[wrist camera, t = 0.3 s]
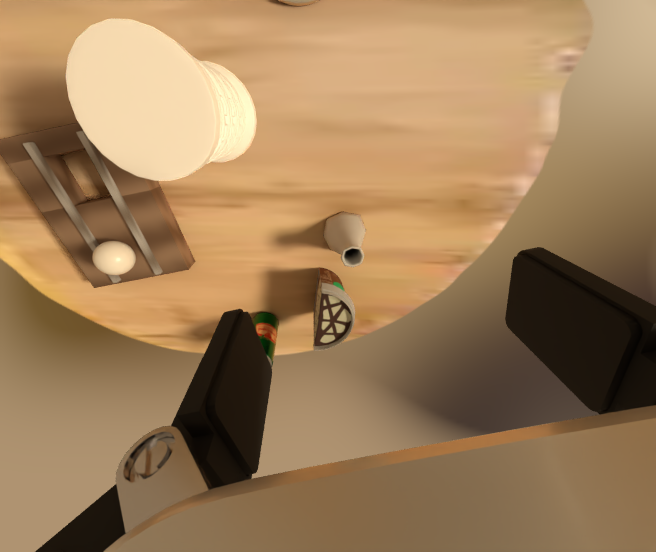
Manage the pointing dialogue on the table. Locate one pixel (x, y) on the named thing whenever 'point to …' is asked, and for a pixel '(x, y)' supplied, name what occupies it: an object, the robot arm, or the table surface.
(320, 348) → the food container
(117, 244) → the ball
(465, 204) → the table surface
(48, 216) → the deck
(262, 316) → the soda can
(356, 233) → the flask
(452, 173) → the table surface
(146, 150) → the decorative container
